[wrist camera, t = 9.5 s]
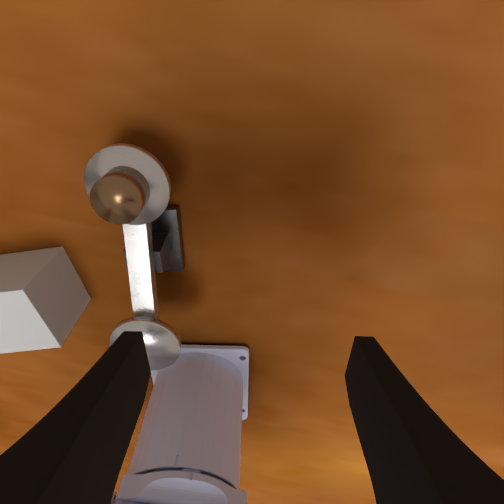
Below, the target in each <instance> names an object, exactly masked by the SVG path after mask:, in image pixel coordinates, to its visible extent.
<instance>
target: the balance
mask: <svg viewBox="0 0 504 504" xmlns="http://www.w3.org/2000/svg"><path fill="white" fill-rule="evenodd" d="M84 181H85V187H86V190H87V193H88V195H89V197H90V202H91V205H92V207H93V209H94V210H95V211H96V213H97V214H98V215H99V216H100V217H102V218H103V219H104V220H106V221H108V222H111V223H114V224H123V231H124V239H125V249H124V251H123V252H124V256H125V261H126V265H127V270H128V273H129V281H130V290H131V298H132V307H133V315H134V317H131V318H127V319H125V320H123V321H121V322H120V323H118V324H117V326H116V327H115V328H114V330H113V332H112V335H111V337H110V346H111V345H112V344H113V343H114V341H115V340H116V339H117V338H118V337H119V336H120V334H121V333H122V332H124V331H142V334H143V338H144V343H145V347H146V352H147V356H148V361H149V365H150V370H161V369H164V368H167V367H169V366H171V365H172V364H173V363H175V362H176V360H177V359H178V357H179V354H180V349H181V339H180V337H179V335H178V333H177V332H176V331H175V330H174V329H173V328H172V327H171V326H170V325H168V324H167V323H165V322H163V321H161V320H159V310H158V298H157V287H156V276H155V272H159V273H163V271H183V270H184V267H185V264H184V255H183V246H182V237H181V228H180V219H179V209H178V206H177V205H168V203H169V200H170V197H171V182H170V178H169V175H168V173H167V171H166V169H165V167H164V166H163V164H162V163H161V162H160V161H159V160H158V159H157V158H156V157H155V156H154V155H153V154H152V153H150V152H149V151H147V150H145V149H143V148H141V147H139V146H136V145H132V144H127V143H117V144H112V145H109V146H106V147H104V148H103V149H101V150H100V151H98V152H97V153H96V154H94V155H93V156H92V158H91V159H90V160H89V162H88V164H87V166H86V169H85V175H84Z"/></svg>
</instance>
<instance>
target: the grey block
mask: <svg viewBox="0 0 504 504" xmlns="http://www.w3.org/2000/svg"><path fill="white" fill-rule="evenodd" d="M90 300H91V298H90V296H89V294H88V292H87V291H86V289H85V287H84V285H83V283H82V281H81V279H80V278H79V276H78V274H77V272H76V270H75V268H74V267H73V265H72V263H71V261H70V259H69V257H68V255H67V254H66V252H65V250H64V248H63V246H62V247H54V248H47V249H39V250H32V251H24V252H17V253H9V254H2V255H0V353H10V352H19V351H29V350H38V349H48V348H58V347H61V346H62V345H63V343H64V342H65V340H66V338H67V337H68V335H69V334H70V332H71V330H72V329H73V327H74V326H75V324H76V322H77V321H78V319H79V318H80V316H81V315H82V313H83V311H84V310H85V308H86V307H87V305H88V303H89V302H90Z"/></svg>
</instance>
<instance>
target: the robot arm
mask: <svg viewBox="0 0 504 504" xmlns="http://www.w3.org/2000/svg"><path fill="white" fill-rule="evenodd" d="M242 356H243V357H242ZM150 372H151V376H152V380H153V385H154V386H153V389H152V392H151V396H150V399H149V403H148V406H147V409H146V413H145V416H144V420H143V423H142V426H141V430H140V433H139V436H138V440H137V443H136V447H135V450H134V453H133V457H132V460H131V463H130V467H129V470H128V474H124V475H123V478H122V482H121V485H120V488H119V492H118V495H117V498H116V492H114V489H115V485H116V482H117V478H118V475H119V472H120V469H121V466H122V463H123V460H124V457H125V455H126V452H127V449H128V446H129V443H130V440H131V437H132V435H133V432H134V429H135V426H136V423H137V420H138V417H139V414H140V411H141V409H142V406H143V403H144V399H145V395H146V391H147V386H148V382H149V377H150ZM248 377H249V349H248V348H247V347H245V346H220V345H181V349H180V354H179V357H178V359H177V360H176V362H175V363H173V364H172V365H171V366H169V367H167V368H164V369H161V370H150V365H149V361H148V356H147V352H146V347H145V343H144V338H143V334H142V331H124V332H122V333H121V334H120V336H119V337H118V338H117V339H116V340H115V341H114V343H113V344H112V345H111V346H110V347H109V348H108V350H107V351H106V352H105V353H104V354H103V355H102V357H101V358H100V359H99V360H98V361H97V362H96V363H95V365H94V366H93V367H92V368H91V369H90V370H89V371H88V372H87V373H86V374H85V376H84V377H83V378H82V379H81V380H80V381H79V382H78V383H77V384H76V385H75V386H74V387H73V388H72V390H71V391H70V392H69V393H68V394H67V395H66V396H65V397H64V398H63V399H62V400H61V401H60V402H59V403H58V404H57V405H56V406H55V407H54V408H53V409H52V410H51V411H50V412H49V413H48V414H47V415H45V416H44V417H43V418H42V419H41V420H40V421H39V422H38V423H37V424H36V425H35V426H34V427H33V428H32V429H30V430H29V431H28V432H27V433H26V434H25V435H24V436H23V437H21V438H20V439H19V440H18V441H17V442H16V443H15V444H13V445H12V446H11V447H10V448H9V449H7V450H6V451H5V452H4V453H3V454H1V455H0V504H247V492H246V491H242V490H239V487H240V461H241V435H242V420H245V419H247V417H248ZM345 380H346V386H347V392H348V398H349V403H350V408H351V411H352V415H353V418H354V422H355V426H356V429H357V432H358V436H359V439H360V443H361V446H362V450H363V453H364V456H365V460H366V463H367V467H368V470H369V474H370V477H371V481H372V485H373V489H374V493H375V498H376V503H377V504H504V480H503V479H502V478H501V477H500V476H498V475H497V474H496V473H495V472H494V471H493V470H492V469H491V468H489V467H488V466H487V465H486V464H485V463H484V462H483V461H482V460H481V459H480V458H479V457H478V456H477V455H476V454H475V453H474V452H472V451H471V450H470V449H469V448H468V447H467V446H466V445H465V444H464V443H463V442H462V441H461V440H460V439H459V438H458V437H457V436H456V435H455V434H454V433H453V432H452V430H451V429H450V428H449V427H448V426H447V425H446V424H445V423H444V422H443V421H442V420H441V419H440V418H439V416H438V415H437V414H436V413H435V412H434V411H433V410H432V409H431V408H430V407H429V405H428V404H427V403H426V402H425V401H424V400H423V399H422V397H421V396H420V395H419V394H418V393H417V391H416V390H415V389H414V388H413V387H412V385H411V384H410V383H409V382H408V381H407V379H406V378H405V377H404V376H403V374H402V373H401V372H400V371H399V369H398V368H397V367H396V365H395V364H394V363H393V362H392V360H391V359H390V358H389V356H388V355H387V354H386V352H385V351H384V350H383V349H382V347H381V346H380V345H379V343H378V342H377V341H376V339H375V338H374V337H362V336H355V338H354V342H353V346H352V350H351V354H350V357H349V361H348V365H347V369H346V373H345Z"/></svg>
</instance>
